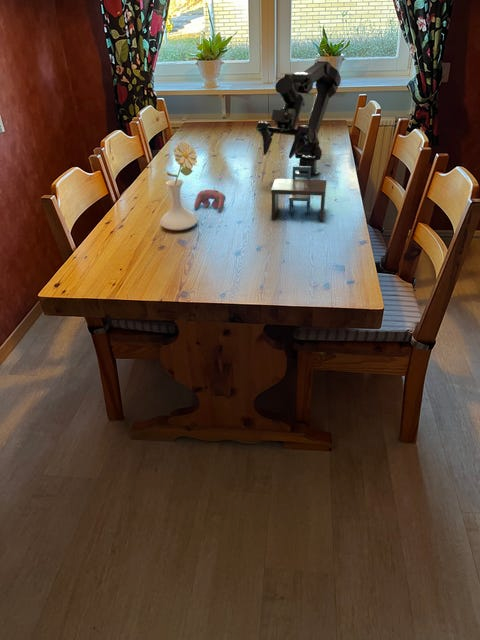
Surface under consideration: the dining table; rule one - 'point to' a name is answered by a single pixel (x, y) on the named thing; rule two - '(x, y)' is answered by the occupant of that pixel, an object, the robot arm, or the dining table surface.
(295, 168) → the chair
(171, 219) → the flower in vase
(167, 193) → the dining table surface
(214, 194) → the video game controller
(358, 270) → the dining table surface
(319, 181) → the desk
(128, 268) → the dining table surface
